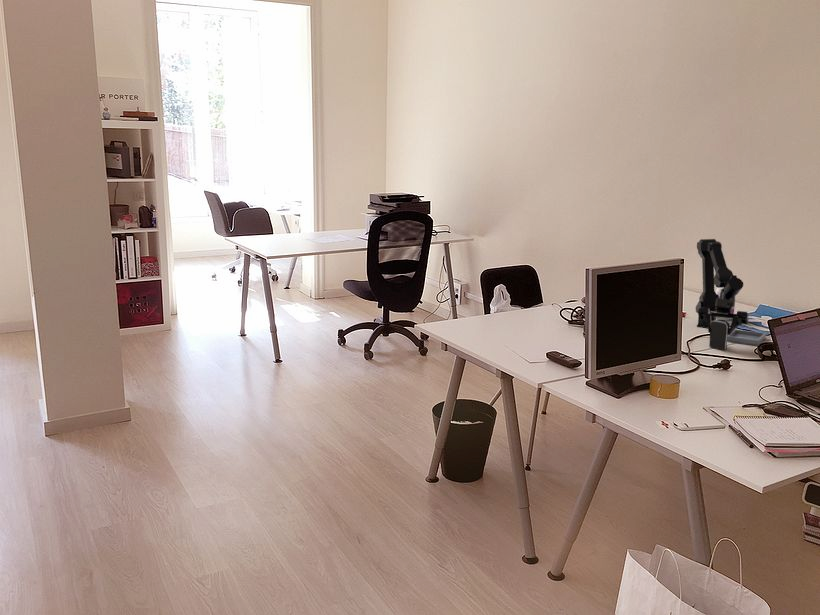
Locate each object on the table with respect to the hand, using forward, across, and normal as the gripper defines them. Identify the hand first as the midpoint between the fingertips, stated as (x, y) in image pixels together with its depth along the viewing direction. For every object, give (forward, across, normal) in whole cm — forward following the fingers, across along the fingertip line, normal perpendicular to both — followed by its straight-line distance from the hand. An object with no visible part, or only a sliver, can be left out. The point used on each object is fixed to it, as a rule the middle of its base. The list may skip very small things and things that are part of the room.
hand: (718, 333), depth 279 cm
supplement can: (-30, -7, +40) cm, 50 cm away
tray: (-8, +8, +17) cm, 20 cm away
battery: (+4, 0, +6) cm, 7 cm away
